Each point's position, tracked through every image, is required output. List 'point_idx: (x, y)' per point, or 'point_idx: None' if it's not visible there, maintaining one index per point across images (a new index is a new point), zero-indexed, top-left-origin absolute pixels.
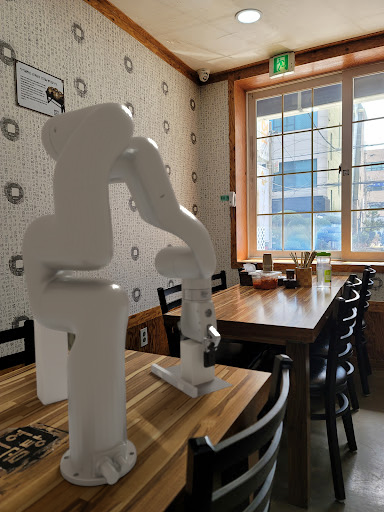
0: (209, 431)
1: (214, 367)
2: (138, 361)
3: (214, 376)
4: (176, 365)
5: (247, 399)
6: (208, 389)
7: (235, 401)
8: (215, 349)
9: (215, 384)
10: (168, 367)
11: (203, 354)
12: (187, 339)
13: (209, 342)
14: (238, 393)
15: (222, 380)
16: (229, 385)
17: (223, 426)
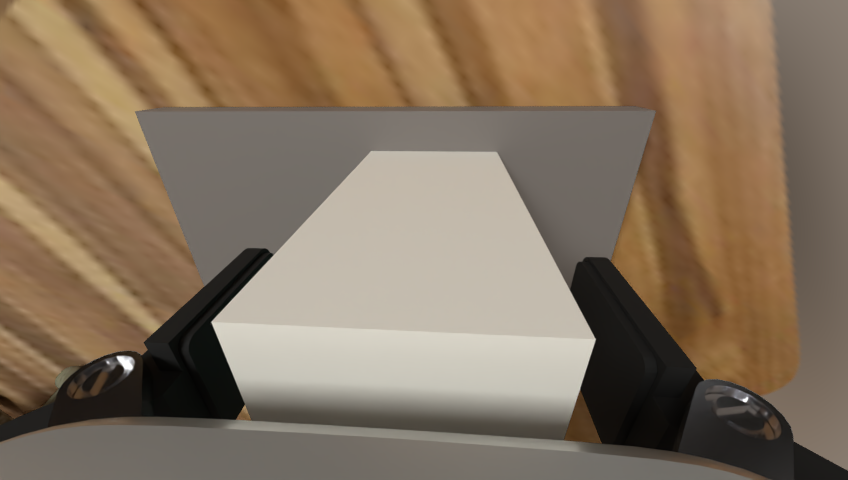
0: (751, 387)
1: (508, 175)
2: (15, 273)
3: (498, 158)
4: (174, 204)
5: (773, 113)
6: (573, 261)
7: (719, 184)
8: (753, 413)
9: (557, 196)
10: (194, 254)
11: (597, 428)
12: (179, 416)
13: (568, 409)
14: (679, 101)
15: (546, 120)
16: (637, 136)
17: (782, 346)
